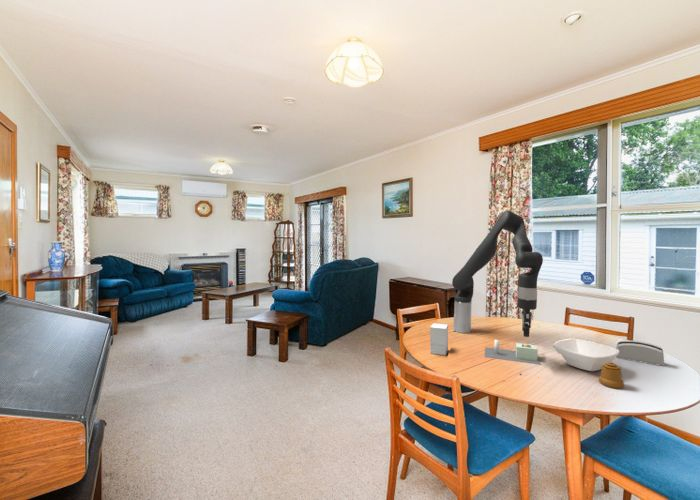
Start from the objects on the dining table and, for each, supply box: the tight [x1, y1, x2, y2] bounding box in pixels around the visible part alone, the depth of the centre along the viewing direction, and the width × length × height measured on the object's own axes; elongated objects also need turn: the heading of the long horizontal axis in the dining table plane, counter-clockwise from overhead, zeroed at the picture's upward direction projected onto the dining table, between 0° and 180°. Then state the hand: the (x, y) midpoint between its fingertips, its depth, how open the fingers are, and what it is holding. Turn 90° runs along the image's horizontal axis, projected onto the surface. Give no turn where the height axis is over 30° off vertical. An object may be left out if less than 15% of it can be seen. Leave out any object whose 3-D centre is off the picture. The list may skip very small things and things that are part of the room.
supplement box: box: [429, 323, 449, 356], centre depth 159 cm, size 7×7×13 cm
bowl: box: [552, 338, 619, 372], centre depth 141 cm, size 21×21×9 cm
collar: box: [515, 342, 539, 361], centre depth 148 cm, size 8×6×5 cm
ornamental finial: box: [598, 362, 625, 390], centre depth 125 cm, size 8×8×8 cm
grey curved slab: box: [615, 339, 666, 366], centre depth 148 cm, size 17×5×10 cm, turn 52°
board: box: [483, 339, 542, 366], centre depth 151 cm, size 22×14×8 cm, turn 66°
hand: (525, 333), depth 148 cm, fingers open, 8 cm apart
